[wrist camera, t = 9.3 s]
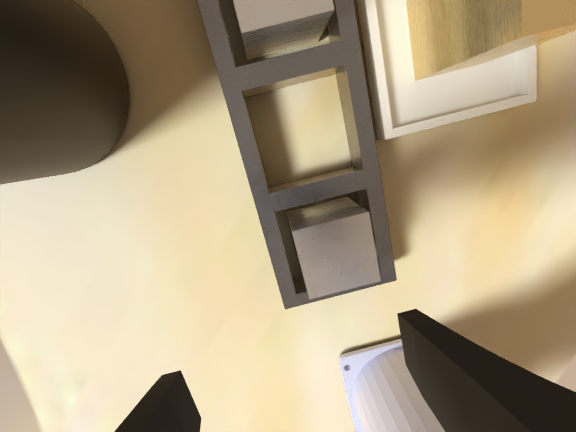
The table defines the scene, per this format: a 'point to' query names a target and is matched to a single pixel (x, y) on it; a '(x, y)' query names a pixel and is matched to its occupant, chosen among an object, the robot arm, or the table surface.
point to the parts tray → (433, 78)
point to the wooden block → (480, 30)
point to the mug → (56, 89)
